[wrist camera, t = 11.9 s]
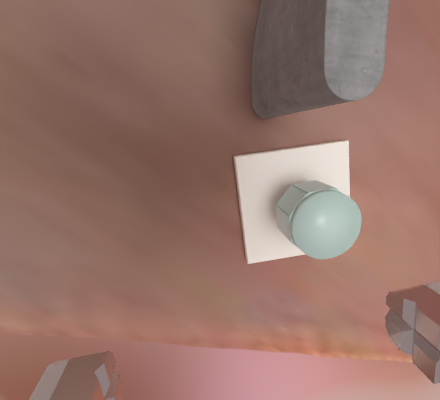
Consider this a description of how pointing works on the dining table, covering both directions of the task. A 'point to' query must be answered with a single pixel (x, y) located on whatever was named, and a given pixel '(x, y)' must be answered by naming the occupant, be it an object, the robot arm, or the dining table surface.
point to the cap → (318, 219)
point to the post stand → (282, 191)
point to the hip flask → (316, 53)
